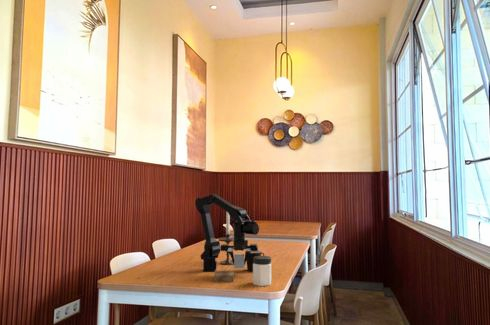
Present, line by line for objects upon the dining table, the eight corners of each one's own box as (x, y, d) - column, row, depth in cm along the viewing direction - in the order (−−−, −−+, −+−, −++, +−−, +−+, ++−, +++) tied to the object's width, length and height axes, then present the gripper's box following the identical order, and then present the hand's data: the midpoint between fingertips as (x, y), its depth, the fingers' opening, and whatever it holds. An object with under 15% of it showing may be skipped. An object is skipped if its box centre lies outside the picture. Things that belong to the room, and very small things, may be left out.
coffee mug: (247, 272, 185) (247, 253, 185) (243, 269, 193) (243, 250, 194) (269, 271, 188) (268, 252, 189) (263, 268, 196) (263, 249, 197)
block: (234, 268, 177) (234, 255, 178) (234, 265, 182) (234, 254, 183) (244, 268, 177) (244, 255, 178) (244, 265, 182) (244, 253, 183)
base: (214, 281, 167) (214, 275, 167) (215, 277, 176) (215, 270, 176) (233, 281, 167) (233, 275, 167) (233, 277, 176) (233, 270, 176)
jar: (275, 283, 163) (275, 257, 164) (264, 287, 157) (264, 259, 158) (260, 280, 170) (260, 254, 170) (249, 283, 164) (249, 257, 164)
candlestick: (239, 264, 205) (239, 203, 207) (221, 265, 202) (221, 203, 204) (234, 261, 215) (234, 202, 218) (216, 262, 212) (216, 203, 214)
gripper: (219, 235, 173) (219, 268, 172) (258, 235, 173) (258, 268, 172) (221, 232, 184) (221, 263, 183) (257, 232, 184) (257, 263, 183)
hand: (239, 264), depth 180 cm, fingers closed on block, 5 cm apart
